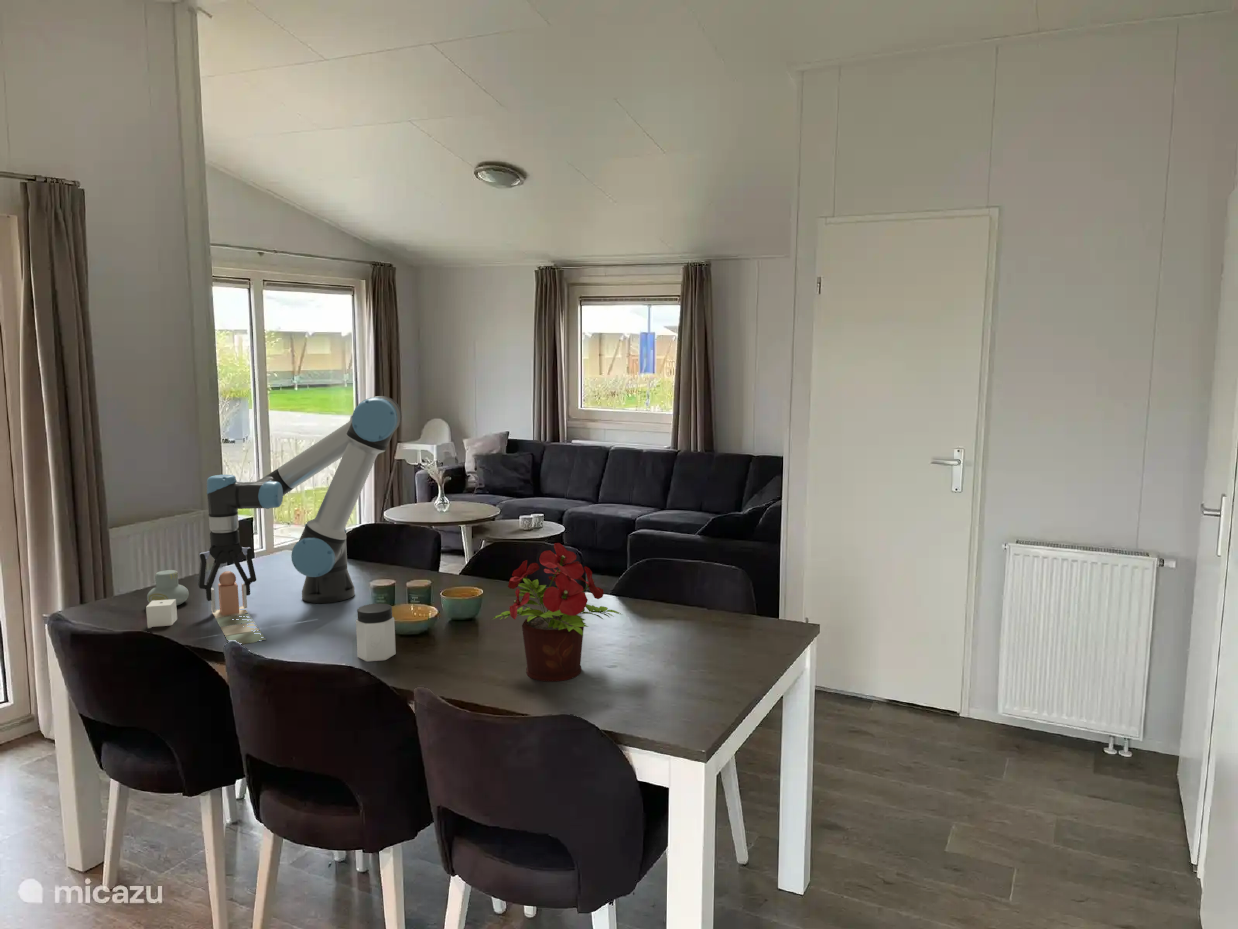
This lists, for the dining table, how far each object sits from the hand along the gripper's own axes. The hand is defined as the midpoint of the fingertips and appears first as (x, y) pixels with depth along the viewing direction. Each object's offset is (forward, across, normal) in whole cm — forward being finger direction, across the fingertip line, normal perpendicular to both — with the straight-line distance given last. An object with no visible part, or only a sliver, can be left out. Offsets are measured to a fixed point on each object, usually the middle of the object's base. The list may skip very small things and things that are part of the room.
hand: (229, 609), depth 253 cm
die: (+1, +17, +1) cm, 17 cm away
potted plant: (+1, -59, +90) cm, 108 cm away
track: (+1, 0, +14) cm, 14 cm away
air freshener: (+1, +14, -18) cm, 23 cm away
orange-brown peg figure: (+1, 0, 0) cm, 1 cm away
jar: (+1, -25, +58) cm, 63 cm away
